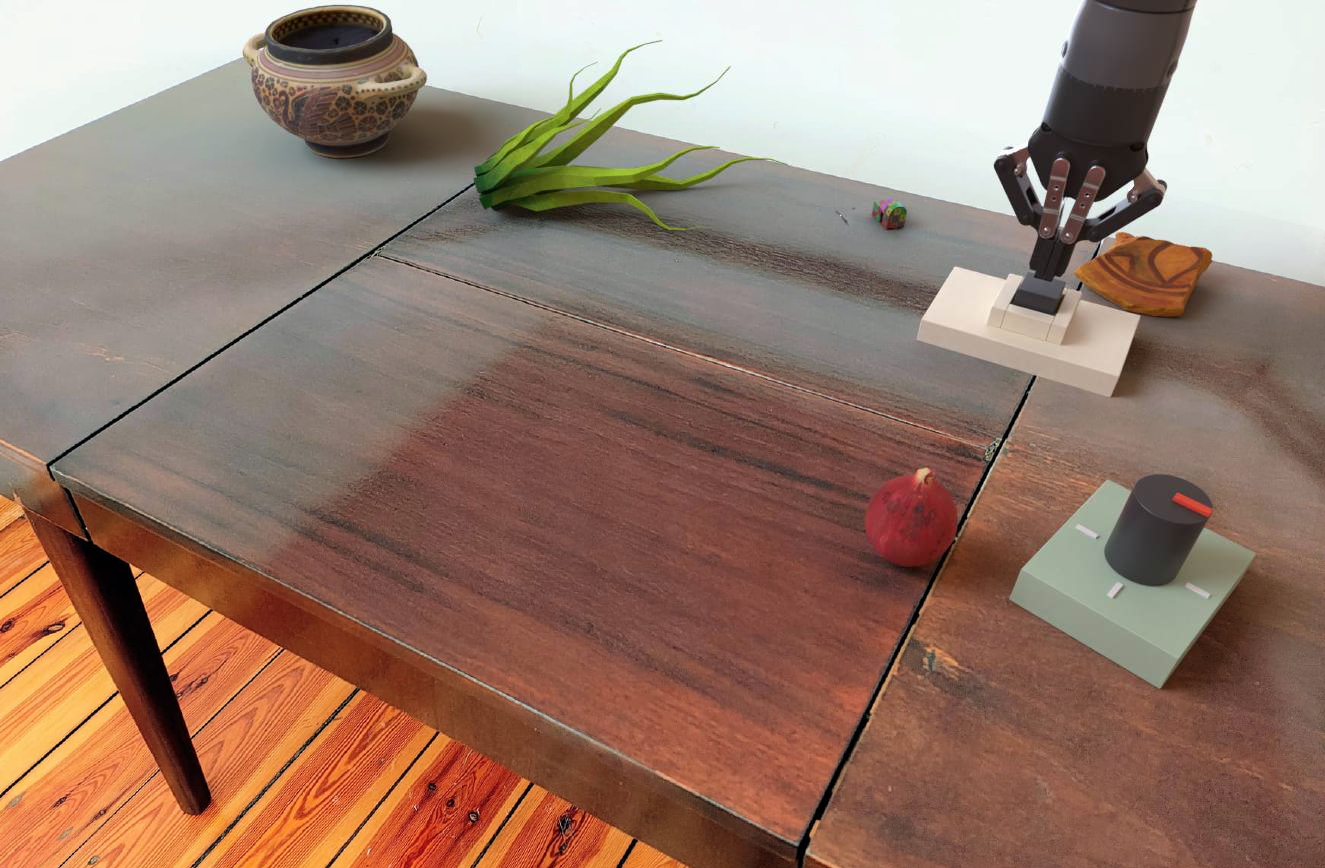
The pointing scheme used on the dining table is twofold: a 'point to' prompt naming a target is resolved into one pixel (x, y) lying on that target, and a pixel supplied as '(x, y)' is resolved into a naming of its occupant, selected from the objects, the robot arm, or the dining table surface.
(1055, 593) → the panel
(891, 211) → the multicoloured toy piece
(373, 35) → the ceramic bowl
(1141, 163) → the robot arm
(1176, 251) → the pottery fragment
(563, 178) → the decorative plant
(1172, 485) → the volume knob
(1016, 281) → the stepped cream pedestal
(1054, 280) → the dark grey square block
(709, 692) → the dining table surface
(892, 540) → the pomegranate
